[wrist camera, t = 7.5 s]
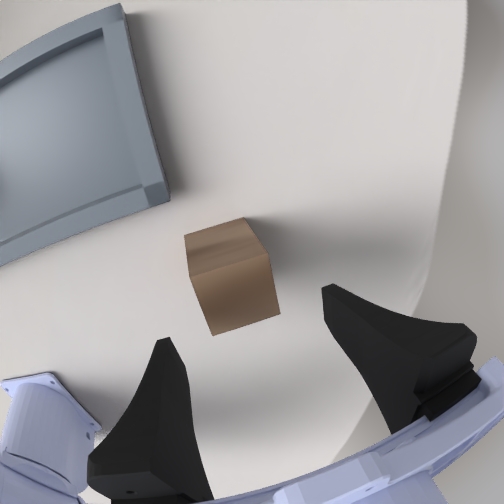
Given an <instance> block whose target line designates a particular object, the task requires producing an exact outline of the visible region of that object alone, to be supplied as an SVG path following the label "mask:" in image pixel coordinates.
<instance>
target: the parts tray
mask: <svg viewBox="0 0 504 504" xmlns="http://www.w3.org/2000/svg"><path fill="white" fill-rule="evenodd" d="M168 201H170V190H169V186H168V183H167V180H166V176H165V173H164V170H163V166H162V163H161V159H160V156H159V152H158V149H157V145H156V142H155V138H154V135H153V131H152V127H151V123H150V120H149V116H148V112H147V108H146V104H145V100H144V96H143V92H142V88H141V84H140V80H139V76H138V72H137V67H136V63H135V59H134V54H133V50H132V45H131V40H130V36H129V31H128V26H127V21H126V16H125V12H124V10H123V8H122V6H121V4H120V3H118V4H115V5H112V6H110V7H107V8H104V9H101V10H99V11H96V12H94V13H91V14H89V15H86V16H84V17H81V18H79V19H77V20H74V21H72V22H70V23H68V24H66V25H63V26H61V27H59V28H57V29H55V30H53V31H51V32H49V33H47V34H45V35H43V36H42V37H40V38H38V39H36V40H34V41H32V42H31V43H29V44H27V45H25V46H24V47H22V48H20V49H19V50H17V51H15V52H14V53H12V54H11V55H9V56H7V57H6V58H4V59H3V60H1V61H0V266H2V265H4V264H6V263H9V262H11V261H13V260H15V259H18V258H20V257H22V256H24V255H27V254H29V253H31V252H34V251H36V250H38V249H41V248H43V247H45V246H48V245H50V244H53V243H55V242H58V241H60V240H63V239H65V238H68V237H70V236H73V235H75V234H78V233H80V232H83V231H86V230H88V229H91V228H93V227H96V226H99V225H102V224H104V223H107V222H110V221H112V220H115V219H118V218H121V217H124V216H127V215H129V214H132V213H135V212H138V211H141V210H144V209H147V208H150V207H153V206H156V205H159V204H162V203H165V202H168Z"/></svg>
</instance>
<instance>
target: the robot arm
mask: <svg viewBox="0 0 504 504" xmlns="http://www.w3.org/2000/svg"><path fill="white" fill-rule="evenodd" d="M322 299H323V311H324V321H325V323H326V324H327V326H328V328H329V330H330V332H331V333H332V335H333V337H334V338H335V340H336V341H337V342H338V344H339V345H340V346H341V348H342V349H343V350H344V352H345V353H346V354H347V356H348V357H349V358H350V360H351V361H352V362H353V364H354V365H355V366H356V368H357V369H358V371H359V372H360V374H361V375H362V377H363V379H364V380H365V382H366V384H367V386H368V387H369V389H370V391H371V393H372V395H373V397H374V399H375V400H376V402H377V404H378V406H379V408H380V410H381V412H382V414H383V416H384V419H385V421H386V423H387V425H388V428H389V430H390V432H391V434H392V435H391V436H389V437H387V438H385V439H383V440H382V441H380V442H378V443H376V444H374V445H372V446H370V447H368V448H366V449H364V450H362V451H360V452H358V453H356V454H354V455H351V456H349V457H347V458H345V459H343V460H340V461H338V462H336V463H333V464H331V465H328V466H326V467H324V468H321V469H319V470H316V471H313V472H311V473H308V474H305V475H303V476H300V477H297V478H294V479H291V480H288V481H285V482H282V483H279V484H276V485H272V486H269V487H266V488H262V489H258V490H255V491H251V492H247V493H243V494H239V495H235V496H230V497H226V498H221V499H216V500H214V497H213V495H212V492H211V489H210V486H209V483H208V480H207V477H206V474H205V471H204V468H203V464H202V461H201V457H200V453H199V450H198V446H197V442H196V437H195V433H194V427H193V418H192V408H191V398H190V387H189V381H188V377H187V372H186V367H185V365H184V363H183V361H182V359H181V358H180V356H179V354H178V352H177V350H176V348H175V346H174V344H173V343H172V341H171V339H170V337H167V338H164V339H160V340H157V342H156V344H155V346H154V349H153V352H152V355H151V358H150V360H149V363H148V366H147V368H146V371H145V373H144V376H143V378H142V380H141V382H140V385H139V387H138V389H137V391H136V393H135V395H134V397H133V399H132V401H131V403H130V404H129V406H128V408H127V409H126V411H125V413H124V414H123V415H122V417H121V418H120V420H119V421H118V423H117V424H116V426H115V427H114V428H113V429H112V431H111V432H110V433H109V434H108V435H107V437H106V438H105V439H104V440H103V441H102V442H101V443H100V444H99V445H98V446H97V447H96V448H95V449H94V438H95V431H101V428H102V427H101V425H99V424H98V423H97V422H96V421H95V420H94V419H93V418H92V417H91V416H90V415H89V414H88V413H87V412H86V411H85V410H84V409H83V407H82V406H81V405H80V404H79V403H78V402H77V401H76V400H75V399H74V398H73V397H72V396H71V395H70V393H69V392H68V391H67V390H66V389H65V388H64V387H63V386H62V384H61V383H60V382H59V381H58V380H57V379H56V377H55V376H54V375H53V374H51V373H44V374H38V375H33V376H28V377H22V378H16V379H11V380H4V381H1V383H0V385H1V387H2V388H3V389H4V390H5V391H6V392H7V394H8V395H9V396H10V397H11V398H12V401H11V404H10V407H9V411H8V414H7V418H6V421H5V425H4V428H3V432H2V436H1V440H0V504H86V503H85V501H84V500H83V499H82V498H81V497H80V496H78V495H77V494H78V493H81V492H82V491H84V490H85V489H86V488H87V487H88V485H89V486H90V487H91V488H92V489H94V490H95V491H97V492H98V493H100V494H102V495H104V496H106V497H108V498H109V499H111V504H448V502H447V501H446V499H445V498H444V496H443V495H442V493H441V491H440V490H439V488H438V487H437V485H436V484H435V482H434V481H433V479H432V478H433V477H434V476H436V475H437V474H438V473H440V472H441V471H442V470H444V469H445V468H446V467H448V466H449V465H450V464H452V463H453V462H454V461H455V460H457V459H458V458H459V457H460V456H462V455H463V454H464V453H465V452H466V451H468V450H469V449H470V448H471V447H472V446H473V445H474V444H475V443H477V442H478V441H479V440H480V439H481V438H482V437H483V436H485V434H487V433H488V432H489V431H490V430H491V429H492V428H493V427H494V426H495V425H496V424H497V423H498V422H499V421H500V420H501V419H503V418H504V364H502V362H501V361H500V360H499V359H497V358H496V356H494V357H492V358H491V359H490V360H489V361H488V362H486V363H485V364H484V365H483V366H482V367H481V368H480V369H479V370H478V371H477V372H476V373H475V372H474V370H473V367H474V365H473V364H472V363H471V362H470V359H471V356H472V354H473V351H474V349H475V346H476V343H477V336H476V334H475V333H473V332H472V331H471V330H470V329H469V328H468V327H467V326H465V324H462V323H442V322H434V321H428V320H422V319H418V318H413V317H409V316H406V315H402V314H399V313H396V312H393V311H390V310H387V309H385V308H382V307H380V306H378V305H375V304H373V303H371V302H369V301H367V300H364V299H362V298H360V297H358V296H356V295H354V294H353V293H351V292H349V291H347V290H345V289H343V288H341V287H339V286H337V285H335V284H330V285H328V286H325V287H322Z"/></svg>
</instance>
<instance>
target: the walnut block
mask: <svg viewBox="0 0 504 504" xmlns="http://www.w3.org/2000/svg"><path fill="white" fill-rule="evenodd" d="M184 239H185V247H186V255H187V262H188V270H189V277H190V280H191V283H192V285H193V288H194V291H195V293H196V296H197V298H198V301H199V304H200V306H201V309H202V311H203V314H204V316H205V319H206V321H207V324H208V326H209V329H210V331H211V334H212V336H215V335H218V334H221V333H224V332H227V331H231V330H234V329H237V328H240V327H243V326H246V325H249V324H252V323H255V322H258V321H261V320H264V319H267V318H270V317H273V316H276V315H279V314H280V309H279V304H278V299H277V295H276V290H275V285H274V280H273V275H272V270H271V265H270V261H269V256H268V252H267V251H266V250H265V248H264V247H263V245H262V244H261V242H260V241H259V239H258V238H257V237H256V235H255V234H254V232H253V231H252V229H251V228H250V226H249V225H248V224H247V222H246V221H245V219H244V218H239V219H236V220H233V221H229V222H226V223H223V224H219V225H216V226H213V227H209V228H206V229H203V230H200V231H196V232H193V233H190V234H187V235H184Z"/></svg>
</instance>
